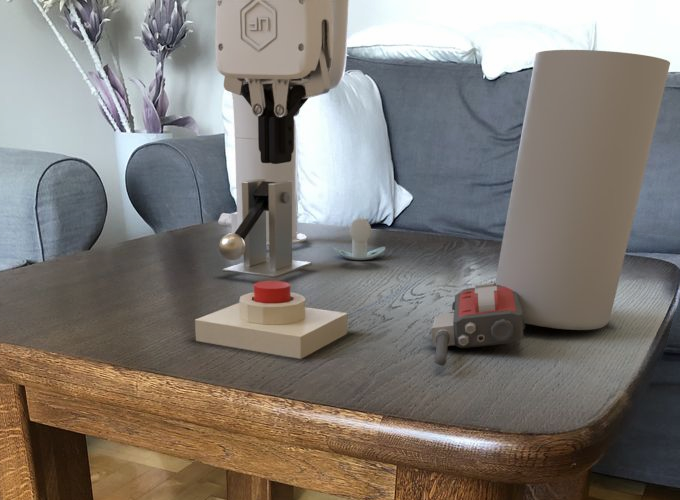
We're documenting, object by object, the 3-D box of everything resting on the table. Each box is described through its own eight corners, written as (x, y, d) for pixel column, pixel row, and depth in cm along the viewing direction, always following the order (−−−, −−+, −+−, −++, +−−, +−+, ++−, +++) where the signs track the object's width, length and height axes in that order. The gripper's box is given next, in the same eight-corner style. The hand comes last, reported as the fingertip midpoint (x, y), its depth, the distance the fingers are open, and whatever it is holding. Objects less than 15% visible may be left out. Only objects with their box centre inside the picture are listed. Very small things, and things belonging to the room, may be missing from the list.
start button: (247, 303, 81) (247, 286, 80) (266, 296, 84) (265, 279, 83) (279, 308, 79) (278, 290, 79) (296, 300, 82) (296, 283, 81)
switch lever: (241, 266, 101) (233, 246, 99) (219, 264, 103) (211, 243, 100) (285, 200, 107) (279, 179, 104) (264, 199, 108) (257, 177, 106)
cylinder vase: (603, 337, 81) (669, 54, 71) (479, 317, 85) (526, 46, 75) (611, 319, 92) (670, 70, 82) (501, 302, 96) (545, 63, 86)
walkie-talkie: (437, 317, 90) (429, 378, 73) (433, 277, 88) (424, 329, 71) (519, 308, 88) (530, 368, 71) (517, 267, 86) (528, 318, 69)
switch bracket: (275, 284, 105) (274, 187, 99) (222, 278, 108) (219, 182, 103) (311, 271, 113) (312, 179, 107) (261, 265, 116) (260, 176, 111)
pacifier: (387, 270, 114) (382, 261, 119) (389, 224, 111) (385, 216, 116) (334, 270, 114) (332, 260, 119) (335, 223, 111) (333, 215, 116)
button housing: (195, 341, 82) (193, 301, 80) (248, 319, 90) (247, 282, 88) (300, 359, 77) (301, 317, 75) (347, 334, 85) (348, 295, 83)
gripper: (177, -71, 70) (189, 161, 78) (332, -82, 64) (327, 171, 72) (225, -59, 76) (232, 155, 84) (372, -69, 70) (363, 163, 78)
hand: (276, 161), depth 78 cm, fingers closed
